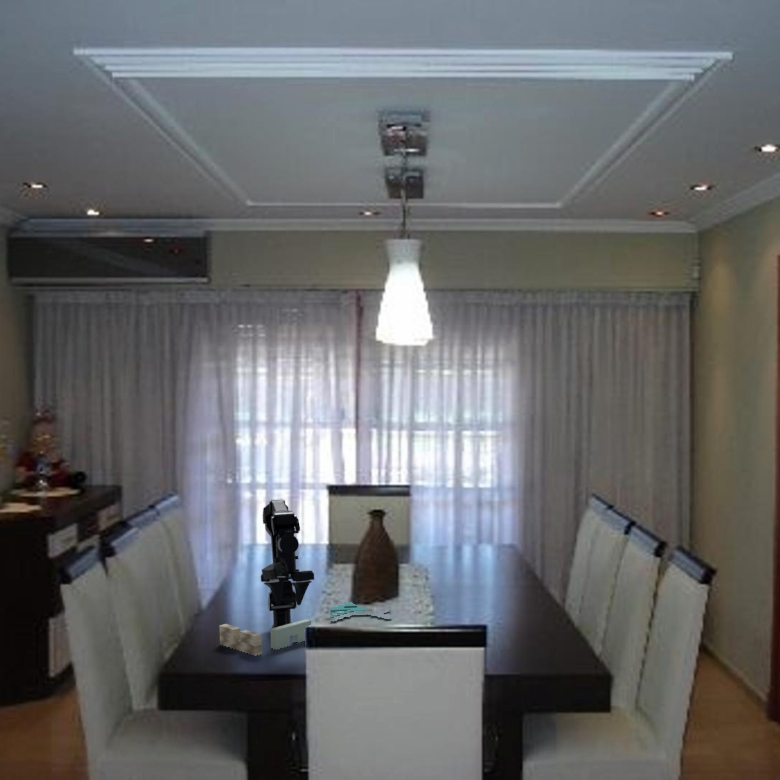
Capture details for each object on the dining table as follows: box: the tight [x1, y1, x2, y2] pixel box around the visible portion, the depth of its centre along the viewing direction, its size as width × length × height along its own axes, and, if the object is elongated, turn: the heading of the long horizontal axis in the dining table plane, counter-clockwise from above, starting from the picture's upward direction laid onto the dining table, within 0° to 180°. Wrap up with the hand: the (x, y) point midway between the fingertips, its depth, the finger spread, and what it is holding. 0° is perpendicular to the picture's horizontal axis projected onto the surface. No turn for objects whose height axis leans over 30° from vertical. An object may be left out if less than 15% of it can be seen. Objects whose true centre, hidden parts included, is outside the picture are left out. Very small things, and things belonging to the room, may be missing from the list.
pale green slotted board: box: [270, 618, 312, 651], centre depth 297 cm, size 14×2×6 cm, turn 135°
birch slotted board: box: [218, 623, 263, 657], centre depth 293 cm, size 18×2×6 cm, turn 45°
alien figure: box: [329, 601, 392, 619], centre depth 331 cm, size 20×2×20 cm
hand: (288, 605), depth 296 cm, fingers open, 9 cm apart
